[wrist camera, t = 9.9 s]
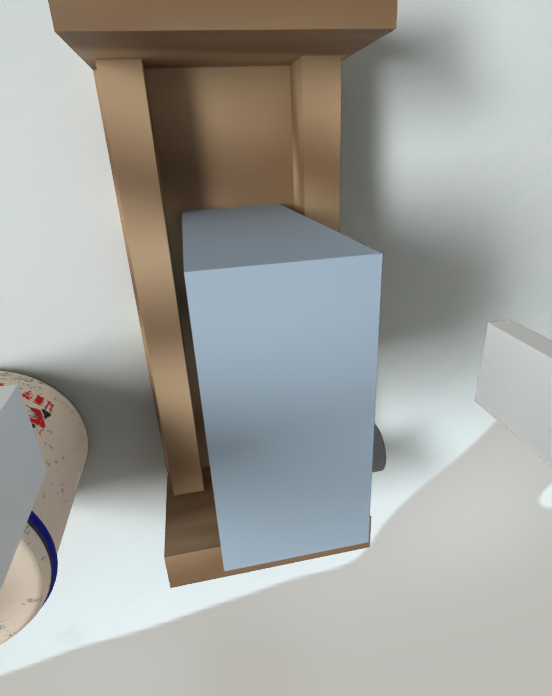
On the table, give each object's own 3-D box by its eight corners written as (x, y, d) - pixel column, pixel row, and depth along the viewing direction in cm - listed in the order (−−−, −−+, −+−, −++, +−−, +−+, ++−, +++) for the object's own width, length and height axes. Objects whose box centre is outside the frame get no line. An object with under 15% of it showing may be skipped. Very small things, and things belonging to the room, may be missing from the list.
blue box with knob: (181, 210, 20) (183, 272, 9) (298, 201, 21) (422, 249, 10) (204, 383, 24) (224, 571, 13) (303, 370, 25) (398, 536, 14)
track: (86, 15, 18) (34, -63, 11) (328, 14, 19) (399, -54, 13) (172, 488, 27) (170, 587, 21) (328, 462, 29) (369, 547, 23)
